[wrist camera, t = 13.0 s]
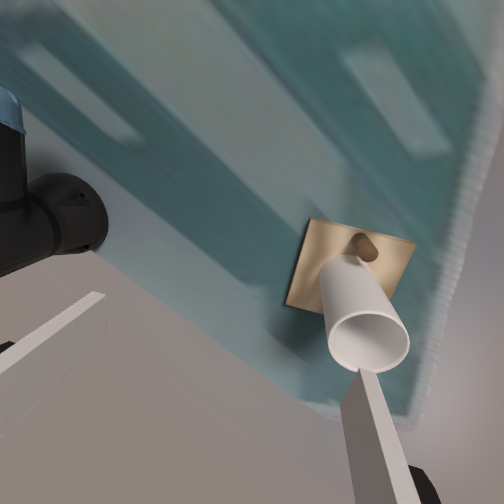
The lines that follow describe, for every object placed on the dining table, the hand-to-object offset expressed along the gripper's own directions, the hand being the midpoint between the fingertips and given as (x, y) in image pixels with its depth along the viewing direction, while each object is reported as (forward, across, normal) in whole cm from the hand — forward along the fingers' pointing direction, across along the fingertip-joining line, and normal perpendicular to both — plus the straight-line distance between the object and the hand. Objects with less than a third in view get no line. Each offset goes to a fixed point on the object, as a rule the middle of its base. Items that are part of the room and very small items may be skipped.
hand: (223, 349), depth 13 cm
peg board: (+32, +14, -7) cm, 35 cm away
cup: (+30, +14, -7) cm, 34 cm away
